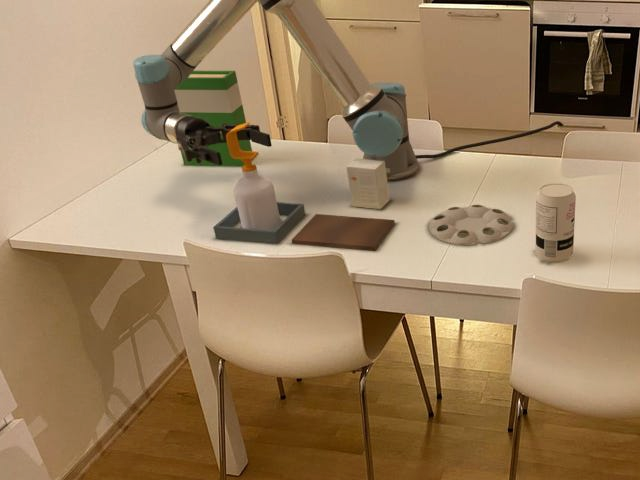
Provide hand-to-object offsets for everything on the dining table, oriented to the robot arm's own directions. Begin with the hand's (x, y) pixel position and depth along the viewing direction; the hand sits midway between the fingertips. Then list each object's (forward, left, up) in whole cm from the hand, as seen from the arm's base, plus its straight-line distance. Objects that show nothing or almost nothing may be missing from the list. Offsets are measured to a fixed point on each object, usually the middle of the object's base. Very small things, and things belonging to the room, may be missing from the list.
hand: (245, 149), depth 168 cm
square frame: (0, 0, -19) cm, 19 cm away
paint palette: (-47, +17, -19) cm, 53 cm away
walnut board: (-18, +10, -19) cm, 28 cm away
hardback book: (+9, -49, -19) cm, 53 cm away
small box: (-27, -4, -19) cm, 33 cm away
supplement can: (-60, +37, -19) cm, 73 cm away
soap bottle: (0, 0, -19) cm, 19 cm away
